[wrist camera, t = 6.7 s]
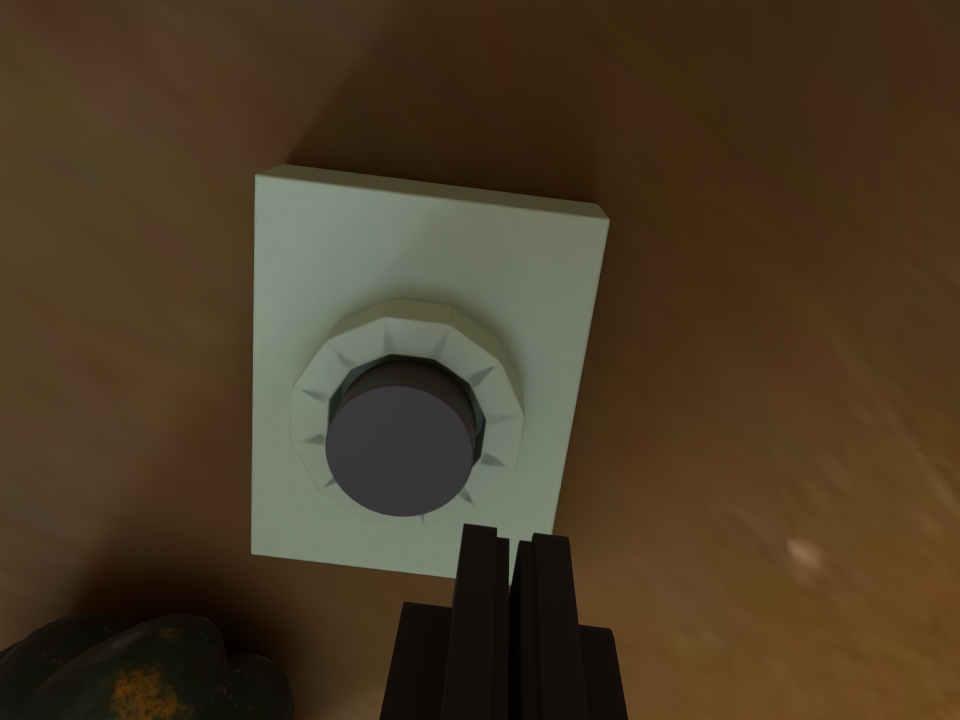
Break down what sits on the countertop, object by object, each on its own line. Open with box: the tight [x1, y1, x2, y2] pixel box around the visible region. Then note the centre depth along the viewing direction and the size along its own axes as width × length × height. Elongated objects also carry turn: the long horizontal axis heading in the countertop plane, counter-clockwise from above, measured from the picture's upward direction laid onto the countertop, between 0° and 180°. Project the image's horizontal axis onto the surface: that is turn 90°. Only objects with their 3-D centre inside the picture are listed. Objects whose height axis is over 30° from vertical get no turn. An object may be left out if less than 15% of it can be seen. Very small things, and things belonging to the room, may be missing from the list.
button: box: [325, 360, 476, 517], centre depth 23 cm, size 4×4×2 cm
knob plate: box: [251, 164, 610, 585], centre depth 26 cm, size 14×11×5 cm
